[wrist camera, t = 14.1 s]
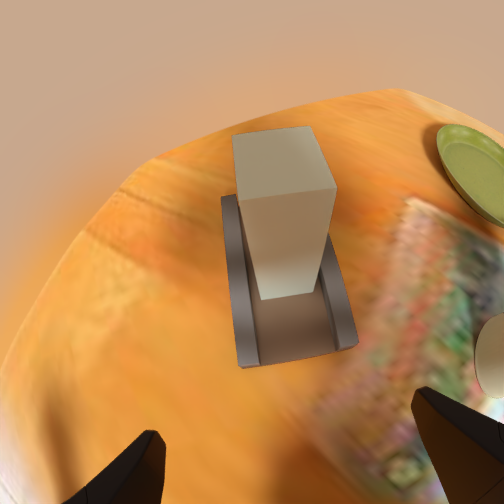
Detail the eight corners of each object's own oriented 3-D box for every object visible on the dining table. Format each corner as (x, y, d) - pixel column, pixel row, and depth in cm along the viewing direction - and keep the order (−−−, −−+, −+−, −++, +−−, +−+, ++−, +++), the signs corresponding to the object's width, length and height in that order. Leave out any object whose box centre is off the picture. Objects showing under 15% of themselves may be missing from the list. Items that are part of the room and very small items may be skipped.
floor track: (351, 348, 21) (359, 342, 18) (242, 368, 21) (237, 365, 19) (309, 198, 29) (311, 182, 26) (224, 212, 29) (220, 196, 27)
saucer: (438, 123, 35) (442, 109, 33) (524, 181, 28) (531, 169, 25) (418, 189, 28) (426, 171, 26) (529, 268, 21) (542, 257, 18)
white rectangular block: (312, 292, 23) (337, 187, 12) (261, 300, 23) (238, 200, 12) (301, 242, 25) (309, 125, 14) (254, 249, 26) (231, 135, 14)
